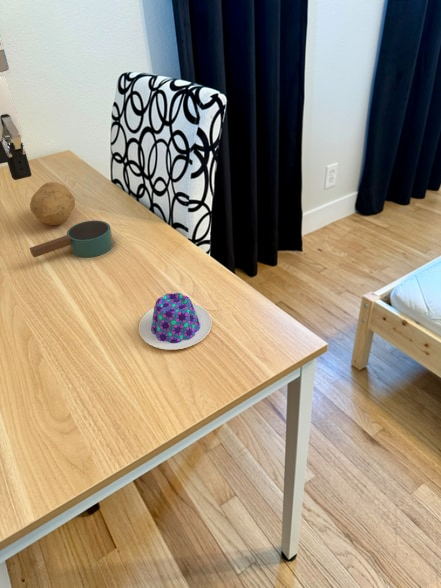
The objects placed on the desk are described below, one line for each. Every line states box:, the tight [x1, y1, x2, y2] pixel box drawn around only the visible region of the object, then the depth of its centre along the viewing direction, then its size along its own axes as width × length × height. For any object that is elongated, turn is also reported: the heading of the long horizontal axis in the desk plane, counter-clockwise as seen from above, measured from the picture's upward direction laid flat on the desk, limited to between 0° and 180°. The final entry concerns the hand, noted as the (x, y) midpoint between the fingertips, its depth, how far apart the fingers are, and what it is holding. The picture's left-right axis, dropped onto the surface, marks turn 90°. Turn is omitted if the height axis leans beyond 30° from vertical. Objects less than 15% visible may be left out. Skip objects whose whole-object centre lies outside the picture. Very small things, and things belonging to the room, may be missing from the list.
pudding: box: [138, 292, 213, 351], centre depth 69 cm, size 12×12×5 cm
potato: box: [29, 181, 76, 226], centre depth 101 cm, size 10×14×8 cm
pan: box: [29, 220, 115, 259], centre depth 90 cm, size 17×9×4 cm, turn 129°
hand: (13, 169), depth 78 cm, fingers open, 9 cm apart
